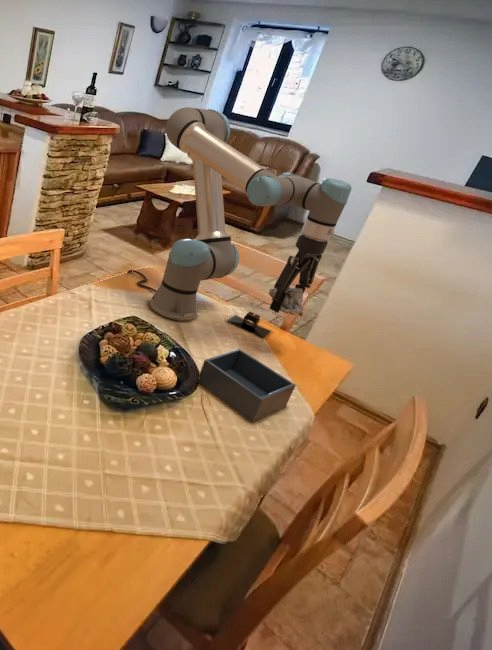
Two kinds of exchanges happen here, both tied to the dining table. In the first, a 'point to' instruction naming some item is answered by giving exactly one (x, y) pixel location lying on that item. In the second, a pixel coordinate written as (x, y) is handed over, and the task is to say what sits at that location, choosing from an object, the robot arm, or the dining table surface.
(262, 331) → the build plate
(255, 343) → the dining table surface
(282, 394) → the dark blue storage bin
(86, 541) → the dining table surface
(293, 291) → the mineral specimen
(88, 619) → the dining table surface
